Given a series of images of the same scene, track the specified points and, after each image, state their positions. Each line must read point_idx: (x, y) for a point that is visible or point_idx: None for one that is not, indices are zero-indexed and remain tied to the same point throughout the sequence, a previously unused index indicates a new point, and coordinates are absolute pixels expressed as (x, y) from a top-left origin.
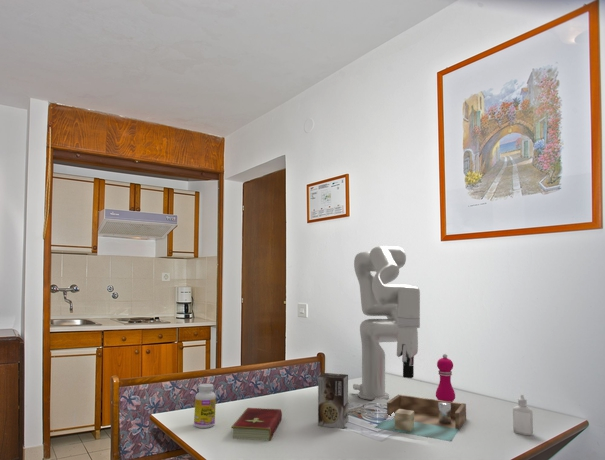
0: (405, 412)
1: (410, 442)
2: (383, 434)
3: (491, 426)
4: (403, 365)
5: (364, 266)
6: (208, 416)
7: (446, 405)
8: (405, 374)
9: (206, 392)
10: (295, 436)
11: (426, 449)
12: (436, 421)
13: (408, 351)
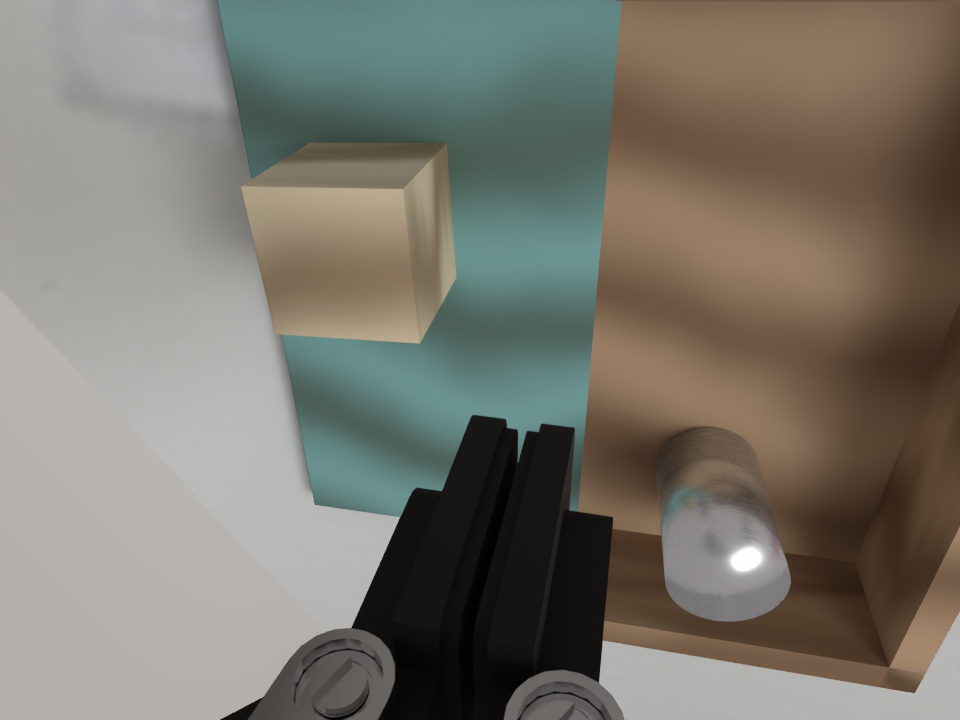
0: (314, 280)
1: (198, 290)
2: (205, 62)
3: (806, 675)
4: (331, 637)
5: None
6: None
7: (668, 589)
8: (416, 500)
9: None
10: None
11: (163, 387)
12: (700, 411)
13: None
